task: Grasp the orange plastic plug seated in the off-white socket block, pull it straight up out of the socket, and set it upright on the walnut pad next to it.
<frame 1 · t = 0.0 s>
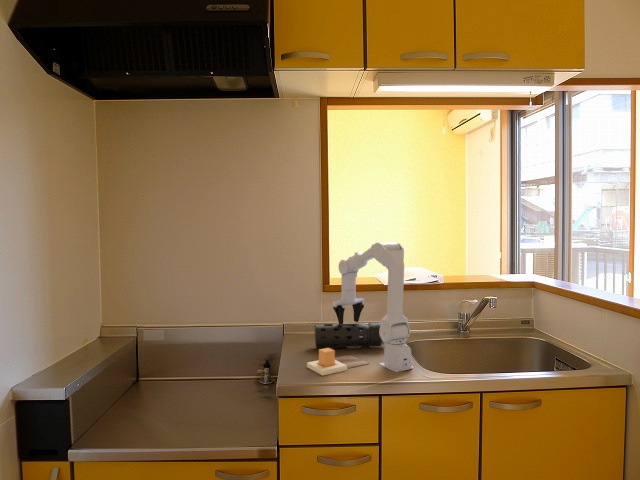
hand: (348, 322, 184), 10 cm above the table, tool pointing down, fingers open, 7 cm apart
socket block: (326, 369, 158), on the table
plug: (326, 368, 158), resting on socket block
pad: (349, 362, 165), on the table
muzzle brake: (350, 348, 184), on the table
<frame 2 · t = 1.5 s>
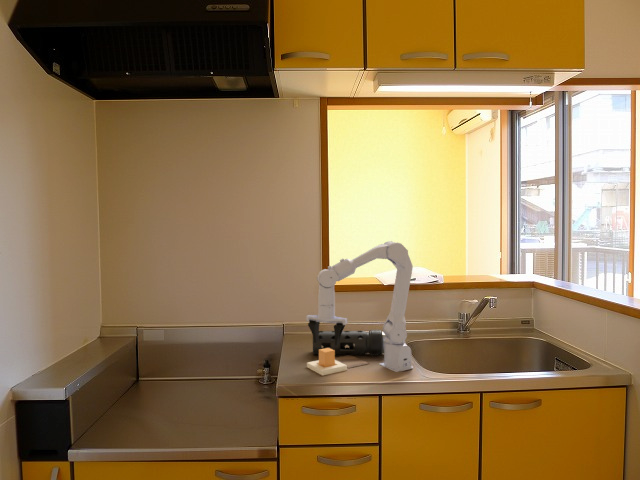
hand: (326, 343, 157), 9 cm above the table, tool pointing down, fingers open, 7 cm apart
muzzle brake: (349, 337, 180), point 5 cm above the table, touching pad
everything else where it was.
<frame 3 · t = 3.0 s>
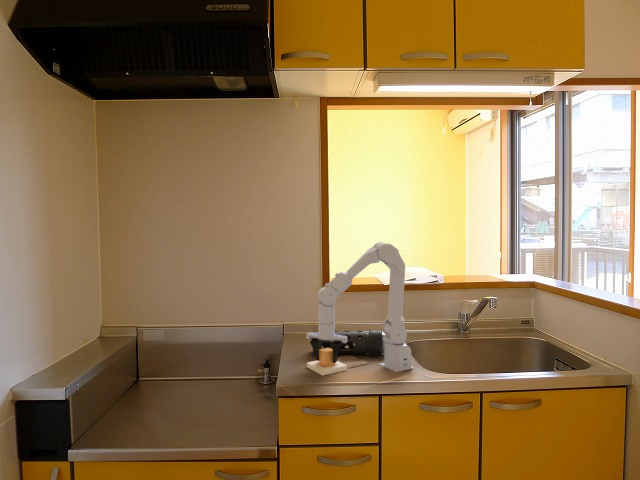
hand: (326, 361, 158), 3 cm above the table, tool pointing down, fingers closed on plug, 6 cm apart
plug: (326, 368, 158), resting on socket block, touching gripper
muzzle brake: (349, 338, 180), point 5 cm above the table
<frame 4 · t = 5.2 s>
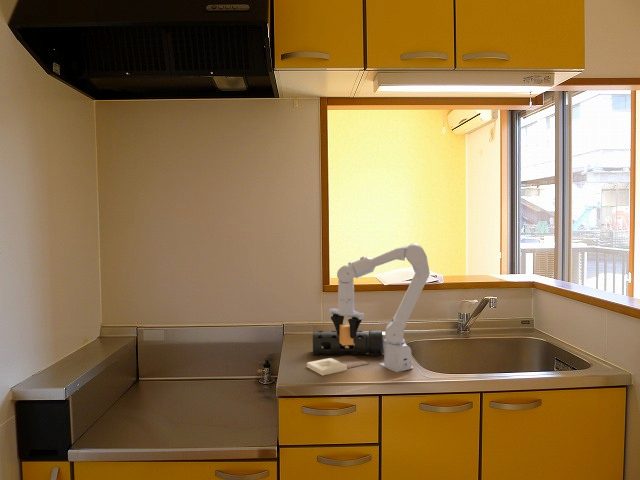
hand: (346, 336, 164), 10 cm above the table, tool pointing down, fingers closed on plug, 5 cm apart
plug: (346, 343, 164), point 7 cm above the table, touching gripper
everything else where it was.
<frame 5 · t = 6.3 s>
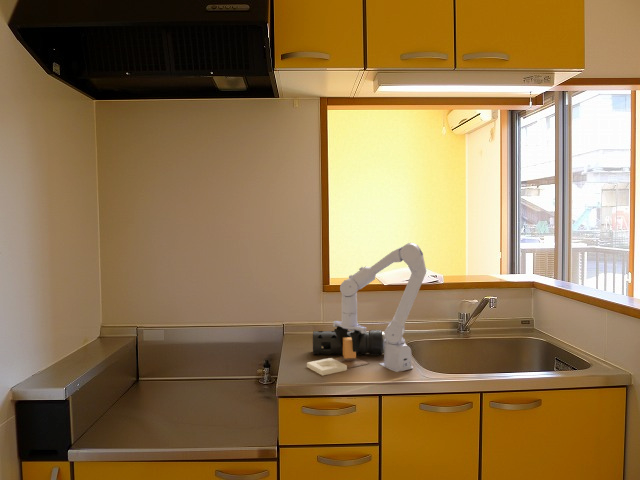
hand: (349, 349, 165), 5 cm above the table, tool pointing down, fingers closed on plug, 5 cm apart
plug: (349, 356, 165), point 2 cm above the table, touching gripper
everything else where it was.
when the fingers open (4 cm above the table, at t = 7.4 s): plug drops 1 cm, resting on pad.
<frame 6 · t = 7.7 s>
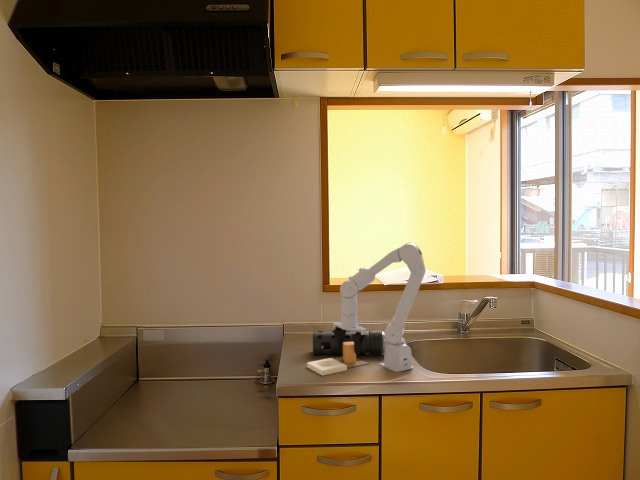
hand: (349, 350, 165), 4 cm above the table, tool pointing down, fingers open, 7 cm apart
plug: (349, 361, 165), point 1 cm above the table, touching pad
everything else where it was.
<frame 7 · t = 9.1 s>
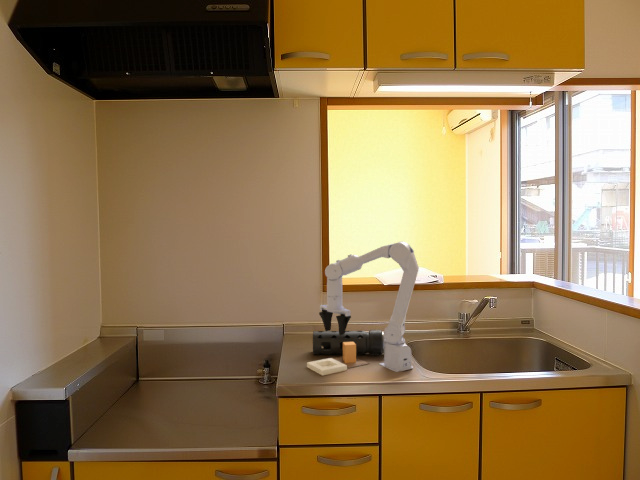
hand: (334, 332, 167), 10 cm above the table, tool pointing down, fingers open, 7 cm apart
nothing on the table moved.
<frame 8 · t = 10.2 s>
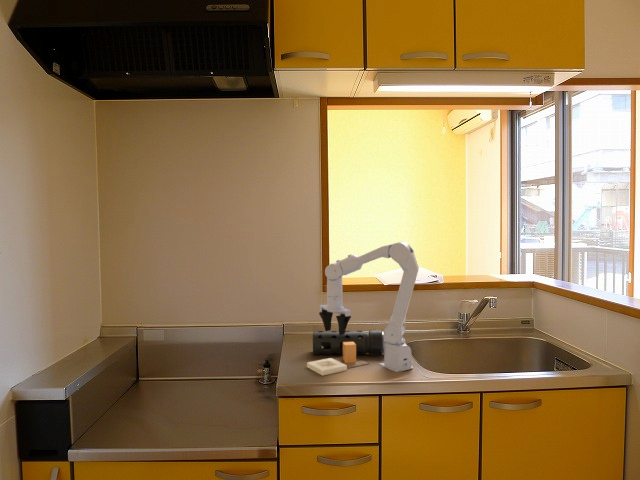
hand: (334, 332, 167), 10 cm above the table, tool pointing down, fingers open, 7 cm apart
nothing on the table moved.
at the end: plug inside the target area on the pad (0.0 cm from its centre), point 0.6 cm above the pad's base; plug tilted 0°; the gripper is holding nothing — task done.
